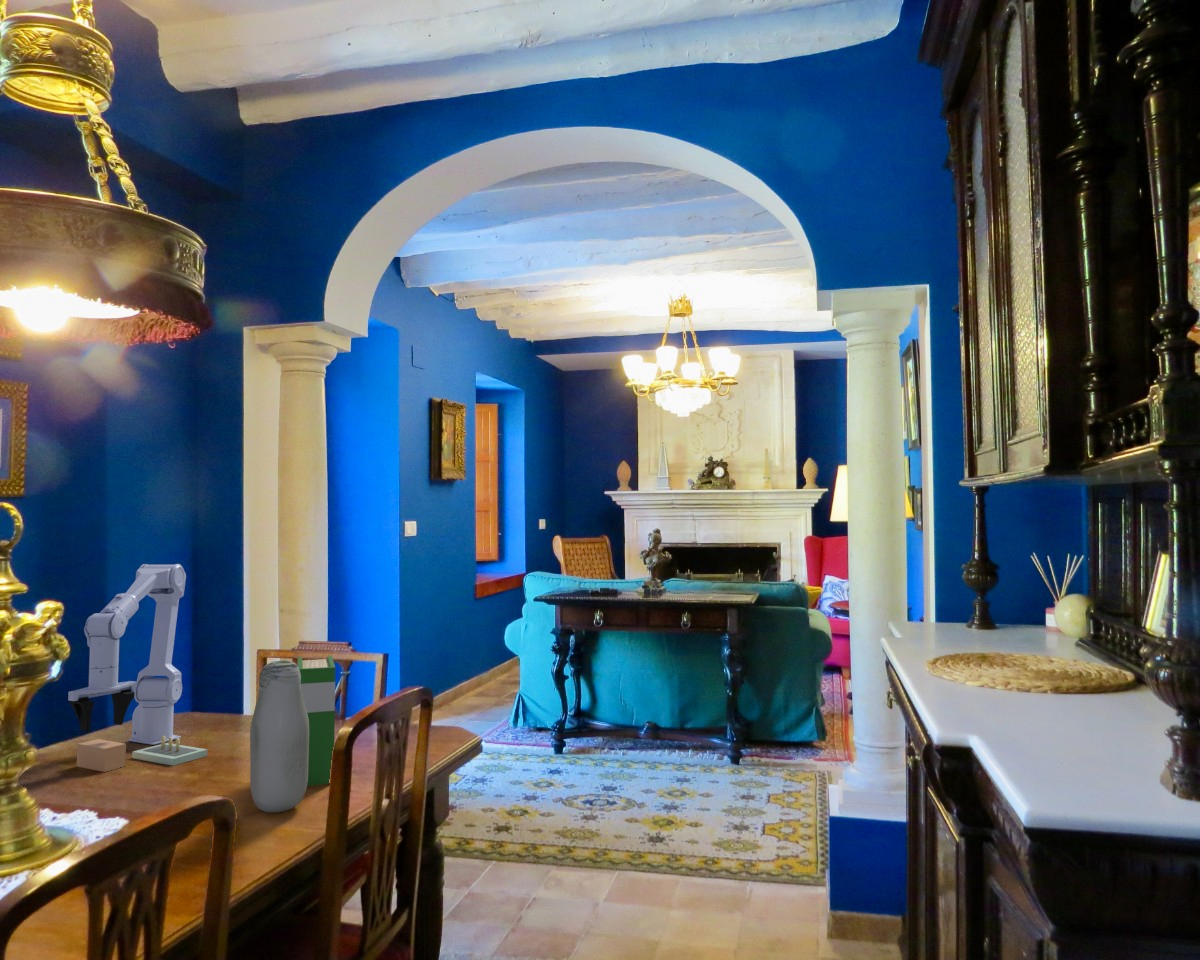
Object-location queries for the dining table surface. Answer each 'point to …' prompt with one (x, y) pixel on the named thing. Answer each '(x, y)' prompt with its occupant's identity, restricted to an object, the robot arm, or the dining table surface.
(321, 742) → the hardback book
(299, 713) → the gray bottle
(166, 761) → the header board
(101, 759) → the block
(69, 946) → the dining table surface
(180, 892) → the dining table surface
